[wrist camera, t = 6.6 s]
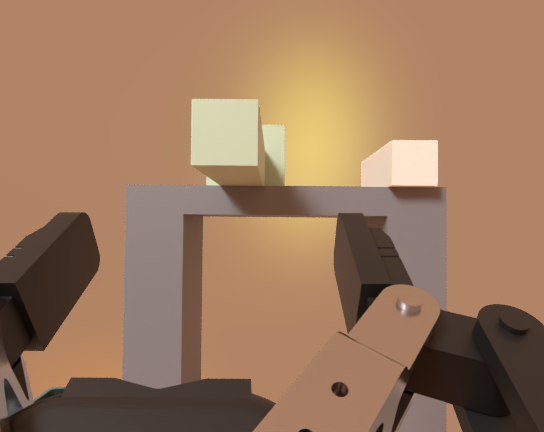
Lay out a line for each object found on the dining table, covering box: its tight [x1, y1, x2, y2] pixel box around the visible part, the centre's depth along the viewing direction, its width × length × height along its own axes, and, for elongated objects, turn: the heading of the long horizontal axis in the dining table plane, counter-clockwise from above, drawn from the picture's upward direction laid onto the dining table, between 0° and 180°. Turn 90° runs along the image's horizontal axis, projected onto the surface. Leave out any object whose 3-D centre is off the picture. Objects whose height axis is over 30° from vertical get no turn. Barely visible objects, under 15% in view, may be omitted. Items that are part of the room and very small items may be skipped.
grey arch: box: [122, 185, 446, 432], centre depth 29 cm, size 22×7×32 cm, turn 90°
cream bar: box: [361, 140, 438, 187], centre depth 29 cm, size 3×9×3 cm, turn 179°
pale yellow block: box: [191, 99, 285, 186], centre depth 25 cm, size 6×16×5 cm, turn 0°
